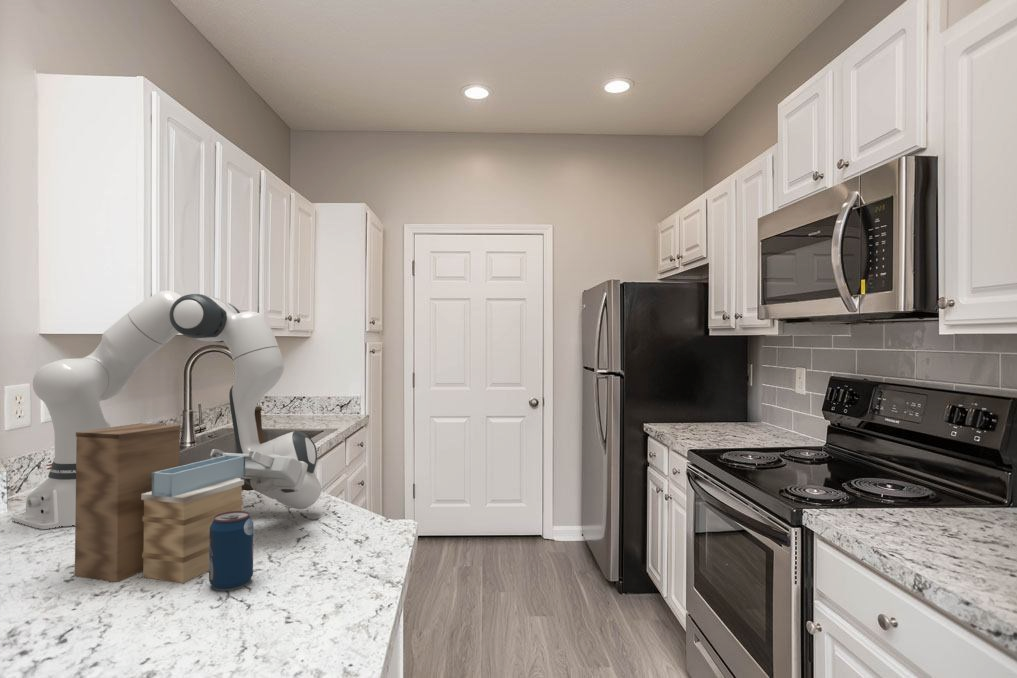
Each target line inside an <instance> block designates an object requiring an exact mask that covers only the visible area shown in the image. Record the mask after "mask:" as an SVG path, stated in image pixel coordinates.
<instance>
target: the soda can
mask: <svg viewBox="0 0 1017 678" xmlns="http://www.w3.org/2000/svg"><path fill="white" fill-rule="evenodd" d="M250 515H251V514H250V512H249V511H245V510H242V511H230V512H225V513H221V514H218V515H216V516H214V518H213V519H214V520H213V522H212V524H211V526H210V536H209V571H208V582H209V584H210V585H211V587H212V588H213V589H214V590H215V591H221V592H226V591H235V590H238V589H242V588H243V587H245V586H247V585H248V584H249V582H250V580H251V579H252V577H253V575H254V521H253V519H252V517H251V516H250Z"/></svg>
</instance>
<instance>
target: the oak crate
mask: <svg viewBox="0 0 1017 678" xmlns="http://www.w3.org/2000/svg"><path fill="white" fill-rule="evenodd" d="M242 485H244V480H242V479H241V478H235V479H232V480H228V481H225V482H221V483H218V484H214V485H211V486H208V487H204V488H201V489H197V490H194V491H191V492H187V493H184V494H180V495H177V496H173V497H166V496H155V495H152V491H151V492H147V493H143V494H141V500H144V516H142V521H143V522H144V550H143V552H142V558H143V572H142V573H143V575H142V576H143V577H142V578H145V579H153V580H161V581H167V582H173V583H180V584H181V583H182V584H185V583H186V582H188V581H190V580H192V578H193V579H195V578H196V577H199V576H202V575H203V574H205V573H208V572H209V536H210V526H211V524H212V522H213V520H214V519H213V518H214V516H216V515H218V514H221V513H225V512H230V511H243V510H242V506H243V504H244V502H243V501H244V500H243V499H242V498H243V495H242V494H243V491H242V490H243V489H242Z"/></svg>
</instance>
